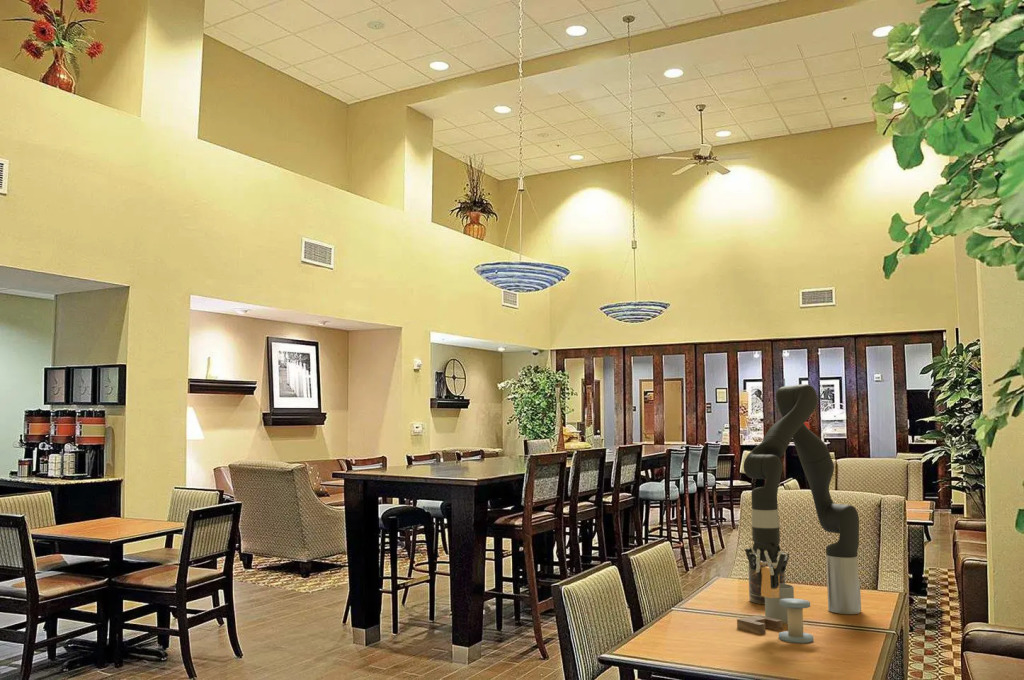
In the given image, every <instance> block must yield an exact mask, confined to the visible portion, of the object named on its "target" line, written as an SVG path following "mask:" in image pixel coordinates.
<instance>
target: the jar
mask: <svg viewBox="0 0 1024 680" xmlns="http://www.w3.org/2000/svg"><path fill="white" fill-rule="evenodd" d="M756 557H757V555H756ZM778 557H779V555H778ZM778 557H777V558H778ZM778 561H779V559H778ZM772 563H774V562H772ZM765 567H768V565H767V564H766V565H765ZM779 583H780V584H786V571H785V572H784V573H781V574H779ZM748 593H749V594H748V597H749V602H751V603H752V604H758V605H763V606H765V597H763V596H761V586H759V584H758V578H757V572H756V571H755V570H754V569H753V570H752V569H751V567H750V564H749V563H748Z"/></svg>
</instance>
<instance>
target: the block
mask: <svg viewBox="0 0 1024 680" xmlns="http://www.w3.org/2000/svg"><path fill="white" fill-rule="evenodd" d="M770 575H771V573H770V569H769V567H761V596H763V597H768V598H779V586H778V588H776V589H772V588H771V581H770Z"/></svg>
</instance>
